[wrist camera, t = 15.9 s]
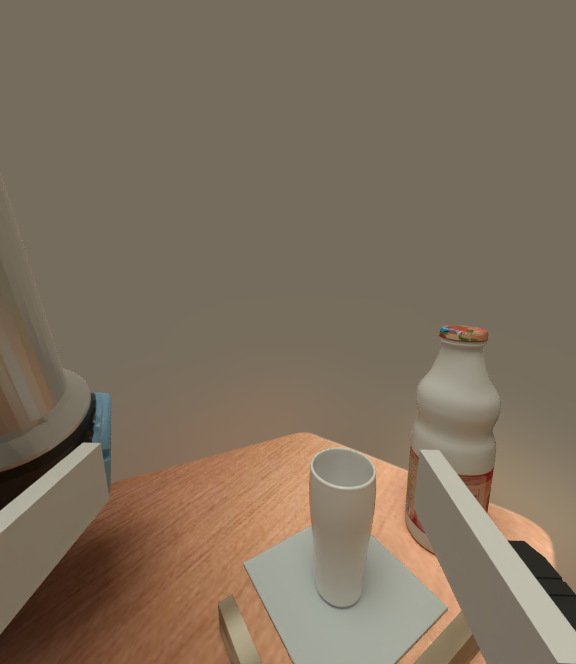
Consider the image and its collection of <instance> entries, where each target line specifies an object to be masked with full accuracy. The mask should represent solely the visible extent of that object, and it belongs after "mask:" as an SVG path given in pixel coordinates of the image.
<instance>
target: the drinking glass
mask: <svg viewBox="0 0 576 664" xmlns="http://www.w3.org/2000/svg"><path fill="white" fill-rule="evenodd" d="M375 500H376V468H375V466H374V464H373V463H372V461H371V460H370V459H369V458H368V457H366V456H365V455H363V454H362V453H360V452H357V451H355V450H351V449H347V448H329V449H325V450H323V451H320V452H319V453H317V454H316V455H315V456H314V457H313V458H312V460H311V464H310V478H309V502H310V515H311V526H312V538H313V549H314V562H315V584H316V587H317V590H318V592H319V593H320V595H321V596H322V598H323V599H324V600H325V601H327V602H328V603H330V604H331V605H334V606H337V607H348V606H351V605H353V604H354V603H356V602H357V601H358V599H359V598H360V596H361V594H362V591H363V584H364V572H365V566H366V559H367V553H368V547H369V541H370V535H371V529H372V523H373V517H374V510H375Z"/></svg>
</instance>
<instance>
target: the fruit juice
mask: <svg viewBox="0 0 576 664" xmlns="http://www.w3.org/2000/svg"><path fill="white" fill-rule="evenodd" d="M439 336H440V341H441V342H442V345H441V349H440V351H439V354H438V356H437V358H436V361H435V362H434V364H433V366H432V368H431V370H430V371H429V372H428V373H427V375H426V376H425V377H424V378H423V379H422V380H421V381H420V383H419V384H418V387H417V391H416V404H417V409H418V417H417V418H416V420H415V422H414V424H413V428H412V434H411V447H410V458H409V471H408V483H407V495H406V508H405V519H406V524H407V527H408V529H409V531H410V533H411V535H412V536H413V537H414V539H415V540H416V541H417V542H418V543H419V544H420V545H422V546H423V547H424V548H426V549H427V550H428V551H430V552H432V553H434V554H435V552H434V550H433V548H432V546H431V544H430V542H429V540H428V537H427V535H426V533H425V531H424V529H423V527H422V525H421V523H420V520H419V518H418V516H417V514H416V512H415V510H414V499H415V490H416V480H417V471H418V461H419V452H420V450H439V451H440V452H441V453H442V455H443V456H444V457H445V458H446V460H447V461H448V462H449V464H450V465H451V466H452V468H453V469H454V470H455V472H456V473H457V474H458V476H459V477H460V478H461V480H462V481H463V482H464V484H465V485H466V486H467V488H468V489H469V490H470V492H471V493H472V494H473V496H474V497H475V498H476V500H477V501H478V502H479V504H480V505H481V506H482V508H483V509H484V510H485V512H486V513H487V511H488V504H489V497H490V490H491V483H492V476H493V470H494V464H495V455H496V442H495V438H494V435H493V427H494V425H495V424H496V422H497V420H498V418H499V415H500V410H501V401H500V397H499V394H498V392H497V391H496V389H495V387H494V386H493V384H492V383H491V381H490V379H489V376H488V373H487V370H486V365H485V361H484V355H483V347H484V346H485V345H486V344H487V340H488V332H487V330H485V329H482V328H477V327H470V326H444V327H442V328H441V330H440V335H439Z"/></svg>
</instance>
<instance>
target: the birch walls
mask: <svg viewBox="0 0 576 664" xmlns="http://www.w3.org/2000/svg"><path fill="white" fill-rule="evenodd" d="M218 611H219V625H220V633H221V635H222V638H223V641H224V644H225V647H226V650H227V653H228V656H229V658H230V661H231V664H262V662H261V659H260V657H259V655H258V652H257V650H256V648H255V645H254V643H253V641H252V638H251V636H250V634H249V631H248V629H247V627H246V624H245V622H244V620H243V617H242V615H241V613H240V610H239V608H238V606H237V603H236V601H235V599H234V596H233V594H232V595H230V596H228V597H227V598H225V599H224V600H222V601H220V602H219V603H218ZM479 649H480V648H479V646H478V644H477V642H476V640H475V638H474V636H473V633H472V631H471V629H470V627H469V625H468V623H467V621H466V619H465V616H464V614H463V612H462V611H461V612H460V613H459V614H458V615H457V617H456V618H455V619H454V620H453V621H452V622H451V623H450V624H449V625H448V626H447V628H446V629H445V630H444V631H443V632H442V633H441V634H440V635H439V636H438V637H437V638H436V640H435V641H434V642H433V643H432V644H431V645H430V646H429V647H428V648H427V649H426V651H425V652H424V653H423V654H422V655H421V656H420V657H419V658H418V659H417V660H416V662H415V663H414V664H469V662H470V661H471V660H472V658H473V657H474V656H475V655H476V653H477V652H478V651H479Z"/></svg>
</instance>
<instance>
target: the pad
mask: <svg viewBox="0 0 576 664" xmlns="http://www.w3.org/2000/svg"><path fill="white" fill-rule="evenodd" d="M243 564H244V567H245V569H246V571H247V573H248V575H249V577H250V579H251V581H252V583H253V585H254V587H255V589H256V591H257V593H258V595H259V597H260V599H261V601H262V603H263V605H264V607H265V609H266V611H267V612H268V614H269V616H270V618H271V620H272V622H273V624H274V626H275V628H276V630H277V632H278V634H279V636H280V638H281V640H282V642H283V644H284V646H285V648H286V650H287V652H288V654H289V656H290V658H291V660H292V662H293V664H396V663H397V662H398V661H399V660H400V659H401V658H402V657H403V656H404V655H405V654H406V653H407V652H408V651H409V650H410V649H411V647H412V646H413V645H414V644H415V643H416V642H417V641H418V640H419V639H420V638H421V637H422V636H423V635H424V634H425V633H426V632H427V631H428V630H429V629H430V628H431V627H432V626H433V624H434V623H435V622H436V621H437V620H438V619H439V618H440V617H441V616H442V615H443V614H444V613H445V612H446V611H447V610H448V607H447V606H446V605H445V604H444V603H443V602H442V601H441V600H440V599H439V598H438V597H437V596H435V595H434V594H433V593H432V592H431V591H430V590H429V589H428V588H427V587H426V586H425V585H424V584H423V583H422V582H421V581H420V580H419V579H418V578H417V577H416V576H414V575H413V574H412V573H411V572H410V571H409V570H408V569H407V568H406V567H405V566H404V565H403V564H402V563H401V562H400V561H399V560H398V559H397V558H396V557H394V556H393V555H392V554H391V553H390V552H389V551H388V550H387V549H386V548H385V547H384V546H383V545H382V544H381V543H380V542H379V541H378V540H377V539H376V538H374V537H373V536H372V535H370V541H369V547H368V553H367V559H366V566H365V572H364V584H363V591H362V594H361V596H360V598H359V599H358V601H357V602H356V603H354V604H353V605H351V606H348V607H337V606H334V605H331V604H330V603H328V602H327V601H325V600H324V599H323V598H322V596H321V595H320V593H319V592H318V590H317V587H316V584H315V562H314V549H313V538H312V526H309V527H307V528H305V529H304V530H302V531H300V532H298V533H296V534H295V535H293V536H291V537H289V538H288V539H286V540H284V541H282V542H280V543H279V544H277V545H275V546H273V547H271V548H270V549H268V550H266V551H264V552H262V553H261V554H259V555H257V556H255V557H254V558H252V559H250V560H248V561H246V562H245V563H243Z"/></svg>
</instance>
